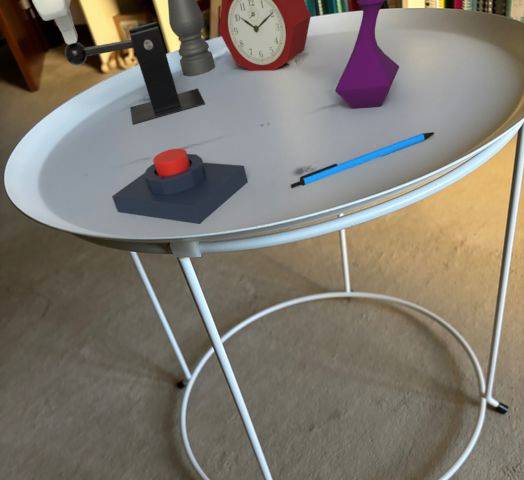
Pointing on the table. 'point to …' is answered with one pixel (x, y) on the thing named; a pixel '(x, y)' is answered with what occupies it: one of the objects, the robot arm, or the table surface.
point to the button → (171, 162)
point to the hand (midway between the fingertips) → (72, 41)
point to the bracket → (158, 78)
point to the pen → (360, 159)
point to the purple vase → (367, 65)
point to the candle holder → (190, 37)
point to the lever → (92, 50)
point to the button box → (182, 191)
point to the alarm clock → (264, 31)
